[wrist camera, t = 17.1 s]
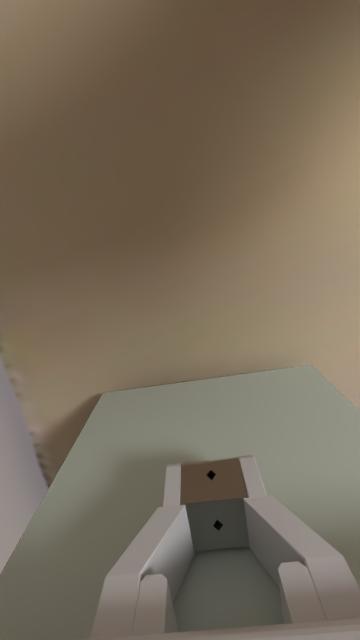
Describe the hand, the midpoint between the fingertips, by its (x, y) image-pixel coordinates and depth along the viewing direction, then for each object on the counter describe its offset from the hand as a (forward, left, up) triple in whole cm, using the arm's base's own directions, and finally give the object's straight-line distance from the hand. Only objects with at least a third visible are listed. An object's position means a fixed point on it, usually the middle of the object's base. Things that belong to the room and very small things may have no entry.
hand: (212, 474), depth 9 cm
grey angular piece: (+9, 0, -9) cm, 12 cm away
